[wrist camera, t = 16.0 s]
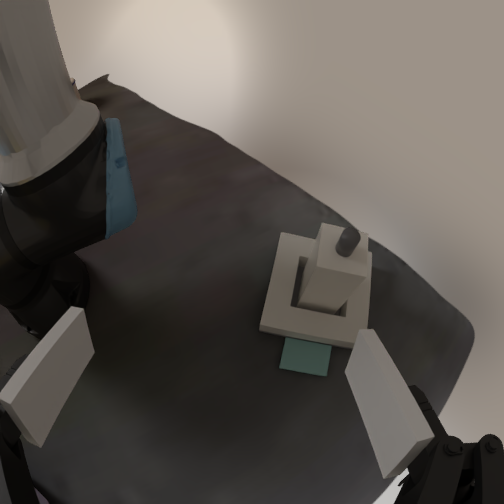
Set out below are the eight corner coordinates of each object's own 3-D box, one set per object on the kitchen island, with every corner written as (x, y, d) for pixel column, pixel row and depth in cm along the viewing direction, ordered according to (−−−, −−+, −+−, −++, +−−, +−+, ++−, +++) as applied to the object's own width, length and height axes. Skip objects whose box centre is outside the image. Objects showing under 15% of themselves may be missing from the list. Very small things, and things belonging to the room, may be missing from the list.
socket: (350, 380, 33) (360, 377, 30) (251, 362, 34) (251, 358, 31) (363, 263, 41) (371, 252, 38) (278, 245, 42) (281, 232, 39)
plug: (333, 315, 36) (376, 265, 24) (296, 307, 37) (322, 253, 24) (337, 280, 39) (376, 220, 26) (302, 273, 39) (327, 208, 26)
